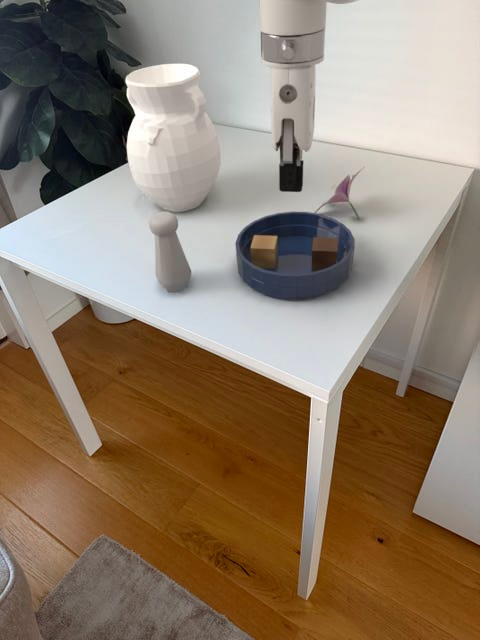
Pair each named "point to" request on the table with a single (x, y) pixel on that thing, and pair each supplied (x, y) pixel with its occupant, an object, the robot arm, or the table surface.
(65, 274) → the table surface
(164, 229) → the salt shaker
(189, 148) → the white vase
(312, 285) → the bowl
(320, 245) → the walnut block
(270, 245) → the maple block
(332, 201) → the lily
